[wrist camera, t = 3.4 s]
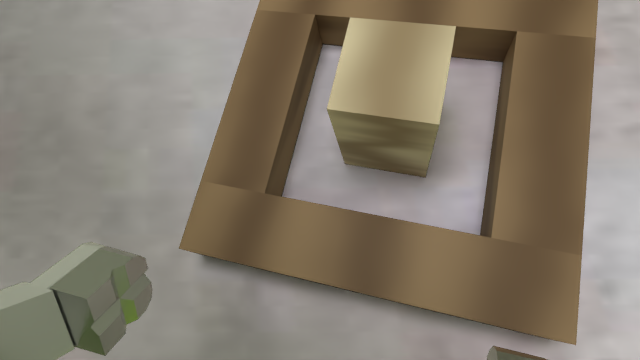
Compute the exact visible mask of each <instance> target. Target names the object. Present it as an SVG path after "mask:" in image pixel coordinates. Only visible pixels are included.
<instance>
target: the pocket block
mask: <svg viewBox="0 0 640 360" xmlns="http://www.w3.org/2000/svg"><path fill="white" fill-rule="evenodd" d="M597 10H598V0H260V2H259V5H258V8H257V11H256V14H255V17H254V20H253V23H252V26H251V29H250V32H249V36H248V39H247V42H246V45H245V48H244V51H243V54H242V57H241V60H240V63H239V66H238V69H237V72H236V75H235V78H234V81H233V84H232V87H231V90H230V94H229V97H228V100H227V103H226V106H225V109H224V112H223V115H222V118H221V121H220V124H219V127H218V130H217V133H216V136H215V139H214V142H213V145H212V149H211V152H210V155H209V158H208V161H207V164H206V167H205V170H204V173H203V176H202V179H201V182H200V185H199V188H198V191H197V194H196V197H195V200H194V203H193V207H192V210H191V213H190V216H189V219H188V222H187V225H186V228H185V231H184V234H183V237H182V240H181V243H180V246H179V249H183V250H187V251H190V252H194V253H198V254H202V255H206V256H210V257H214V258H218V259H222V260H226V261H230V262H234V263H238V264H242V265H247V266H251V267H255V268H259V269H263V270H267V271H271V272H275V273H279V274H284V275H288V276H292V277H296V278H300V279H304V280H308V281H312V282H316V283H320V284H325V285H329V286H333V287H337V288H341V289H345V290H349V291H353V292H357V293H362V294H366V295H370V296H374V297H378V298H382V299H386V300H390V301H394V302H398V303H403V304H407V305H411V306H415V307H419V308H423V309H427V310H431V311H435V312H440V313H444V314H448V315H452V316H456V317H460V318H464V319H468V320H472V321H476V322H481V323H485V324H489V325H493V326H497V327H501V328H505V329H509V330H513V331H518V332H522V333H526V334H530V335H534V336H538V337H542V338H546V339H550V340H555V341H560V342H564V343H569V344H574V345H576V337H577V321H578V306H579V290H580V274H581V259H582V243H583V228H584V212H585V197H586V181H587V166H588V150H589V134H590V119H591V103H592V88H593V72H594V57H595V41H596V25H597ZM350 18H362V19H374V20H386V21H398V22H410V23H422V24H434V25H446V26H456V30H455V35H454V41H453V47H452V53H451V57H460V58H470V59H480V60H490V61H500V62H503V66H502V74H501V81H500V89H499V96H498V104H497V112H496V119H495V127H494V134H493V142H492V149H491V157H490V165H489V172H488V180H487V187H486V195H485V203H484V210H483V218H482V225H481V233H480V235H474V234H469V233H464V232H459V231H454V230H449V229H444V228H439V227H434V226H429V225H423V224H418V223H413V222H408V221H403V220H398V219H393V218H388V217H383V216H378V215H372V214H367V213H362V212H357V211H352V210H347V209H342V208H337V207H332V206H327V205H321V204H316V203H311V202H306V201H301V200H296V199H291V198H286V197H281V196H282V193H283V189H284V185H285V181H286V178H287V174H288V170H289V167H290V163H291V159H292V156H293V152H294V148H295V144H296V141H297V137H298V133H299V130H300V126H301V122H302V118H303V115H304V111H305V107H306V104H307V100H308V96H309V92H310V89H311V85H312V81H313V78H314V74H315V70H316V66H317V63H318V59H319V55H320V52H321V48H322V44H330V45H340V46H343V43H344V39H345V35H346V31H347V28H348V24H349V20H350Z"/></svg>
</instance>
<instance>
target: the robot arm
mask: <svg viewBox="0 0 640 360" xmlns="http://www.w3.org/2000/svg"><path fill="white" fill-rule="evenodd" d="M147 269H148V266H147V263H146V259H145V258H144V257H142V256H139V255H136V254H132V253H129V252H125V251H122V250H118V249H115V248H111V247H108V246H103V245H100V244H96V243H93V242H89V243H85V244H82V245H81V246H79V247H78V248H77V249H75V250H74V251H73V252H71V253H70V254H68V255H67V256H66V257H64V258H63V259H62V260H60V261H59V262H58V263H56V264H55V265H54V266H52V267H51V268H49V269H48V270H47V271H45V272H44V273H43V274H41V275H40V276H39V277H37V278H36V279H35V280H33V281H32V282H31V283H27V282H23V283H20V284H17V285H14V286H11V287H8V288H5V289H2V290H0V360H56V359H58V358H59V357H61V356H63V355H65V354H66V353H68V352H70V351H72V350H74V349H75V348H74V347H77V348H81V349H84V350H87V351H91V352H94V353H98V354H101V355H104V356H106V355H107V354H108V352H109V351H110V350H111V349H112V348H113V347H114V346H115V345H116V344H117V342H118V341H119V340H120V339H121V338H122V337H123V336H124V335H125V334H126V326H127V324H129V323H131V322H133V321H136V320H138V319H139V318H140V317H141V316H142V314H143V313H144V312H145V311H146V309H147V307H148V305H149V303H150V301H151V298H152V285H151V282H150V280H149V279H148V278H147V277H146V275H145V274H144V273H145V272H146V271H147ZM487 360H546V359H545V358H541V357H537V356H533V355H529V354H525V353H521V352H516V351H512V350H508V349H504V348H500V347H496V346H493V347H492V348H491V349H490V351H489V353H488V356H487Z"/></svg>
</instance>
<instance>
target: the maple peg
mask: <svg viewBox="0 0 640 360" xmlns="http://www.w3.org/2000/svg"><path fill="white" fill-rule="evenodd" d="M455 30H456V26H446V25H434V24H422V23H410V22H398V21H386V20H374V19H362V18H350V20H349V24H348V28H347V31H346V35H345V39H344V43H343V47H342V51H341V55H340V59H339V63H338V67H337V71H336V75H335V79H334V83H333V87H332V91H331V95H330V99H329V102H328V106H327V111H328V114H329V117H330V120H331V123H332V126H333V129H334V132H335V135H336V138H337V141H338V144H339V147H340V150H341V153H342V156H343V159H344V162H345V164H349V165H355V166H361V167H367V168H373V169H379V170H384V171H390V172H396V173H402V174H408V175H414V176H420V177H426V173H427V169H428V165H429V162H430V158H431V154H432V150H433V146H434V143H435V139H436V135H437V131H438V127H439V123H440V117H441V111H442V106H443V100H444V94H445V88H446V82H447V76H448V70H449V65H450V59H451V53H452V47H453V41H454V35H455Z"/></svg>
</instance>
